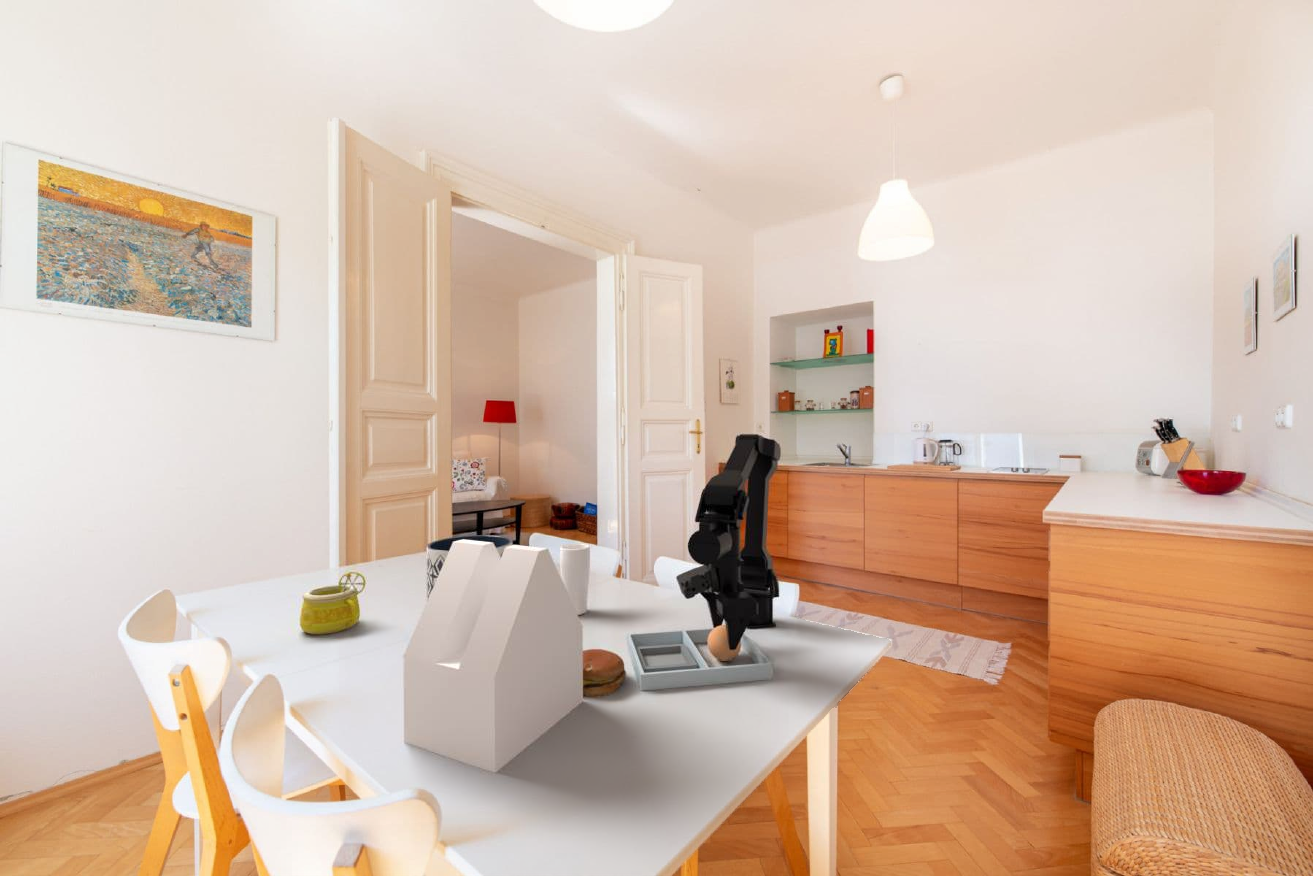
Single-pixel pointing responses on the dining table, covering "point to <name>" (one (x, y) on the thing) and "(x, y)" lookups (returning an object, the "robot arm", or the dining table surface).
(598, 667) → the burger
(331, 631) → the mug
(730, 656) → the ball
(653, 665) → the square tray
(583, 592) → the drinking glass
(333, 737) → the dining table surface
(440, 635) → the slotted house block
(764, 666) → the two compartment tray
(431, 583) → the planter
